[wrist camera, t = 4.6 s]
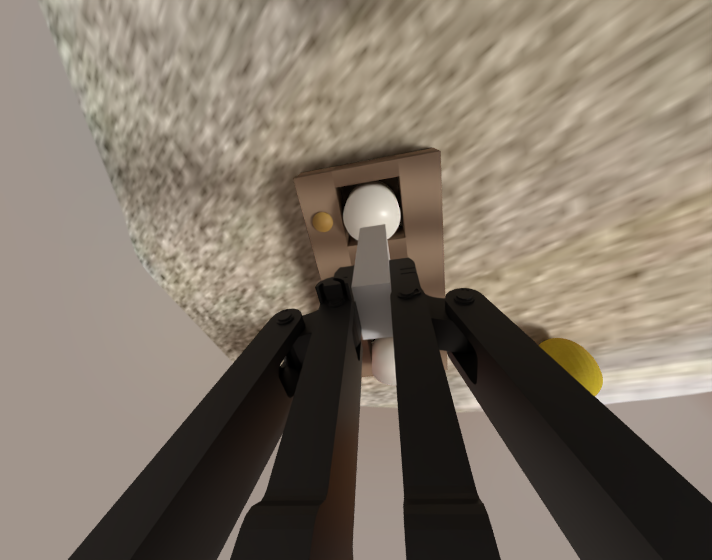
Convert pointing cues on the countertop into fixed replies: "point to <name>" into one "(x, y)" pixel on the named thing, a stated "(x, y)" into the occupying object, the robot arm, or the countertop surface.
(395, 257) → the brown wooden tray
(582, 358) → the lemon
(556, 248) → the countertop surface
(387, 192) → the button
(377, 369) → the button
